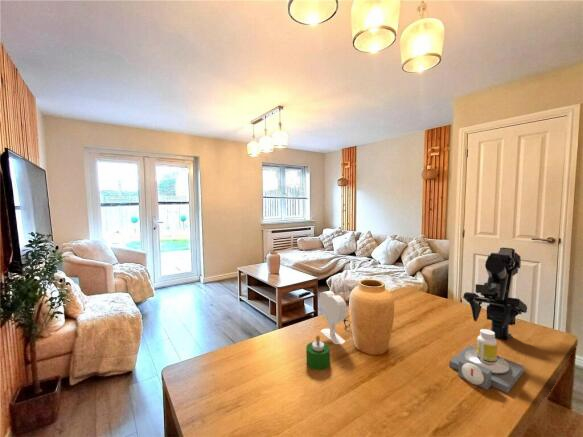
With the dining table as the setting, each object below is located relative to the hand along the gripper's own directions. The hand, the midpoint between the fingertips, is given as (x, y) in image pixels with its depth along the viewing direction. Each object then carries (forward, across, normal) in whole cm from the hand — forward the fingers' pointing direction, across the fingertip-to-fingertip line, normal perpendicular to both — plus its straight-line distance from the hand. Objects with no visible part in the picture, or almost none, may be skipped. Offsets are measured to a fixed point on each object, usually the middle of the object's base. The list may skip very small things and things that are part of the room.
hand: (488, 323), depth 97 cm
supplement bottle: (+13, +3, -1) cm, 13 cm away
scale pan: (+13, +2, -1) cm, 13 cm away
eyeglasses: (+18, -41, -16) cm, 47 cm away
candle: (+38, -26, -42) cm, 63 cm away
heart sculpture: (+28, -39, -31) cm, 57 cm away
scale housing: (+16, +2, -1) cm, 16 cm away
